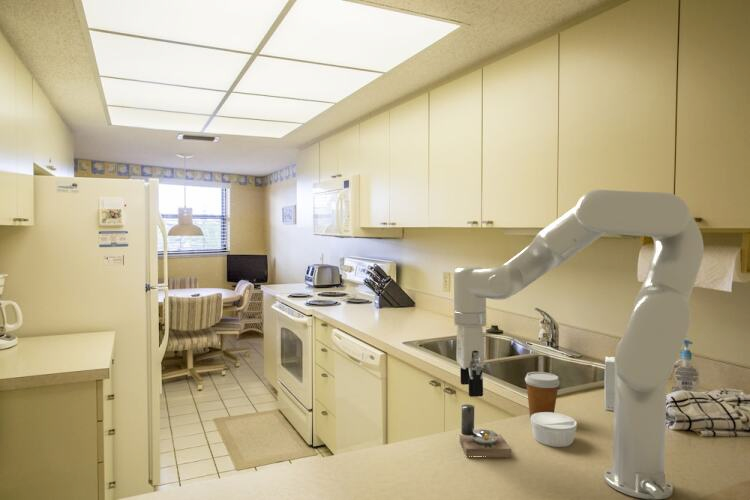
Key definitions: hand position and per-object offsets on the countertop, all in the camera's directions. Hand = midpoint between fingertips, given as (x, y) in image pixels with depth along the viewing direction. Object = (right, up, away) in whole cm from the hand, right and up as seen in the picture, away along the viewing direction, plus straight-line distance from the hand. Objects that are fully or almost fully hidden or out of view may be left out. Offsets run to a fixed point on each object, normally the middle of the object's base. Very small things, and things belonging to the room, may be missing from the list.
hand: (471, 389), depth 120 cm
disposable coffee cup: (+24, -14, +23) cm, 36 cm away
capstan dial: (+2, -12, 0) cm, 12 cm away
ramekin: (+22, -15, +7) cm, 28 cm away
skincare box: (+50, -14, +32) cm, 61 cm away
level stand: (+3, -15, +1) cm, 15 cm away
